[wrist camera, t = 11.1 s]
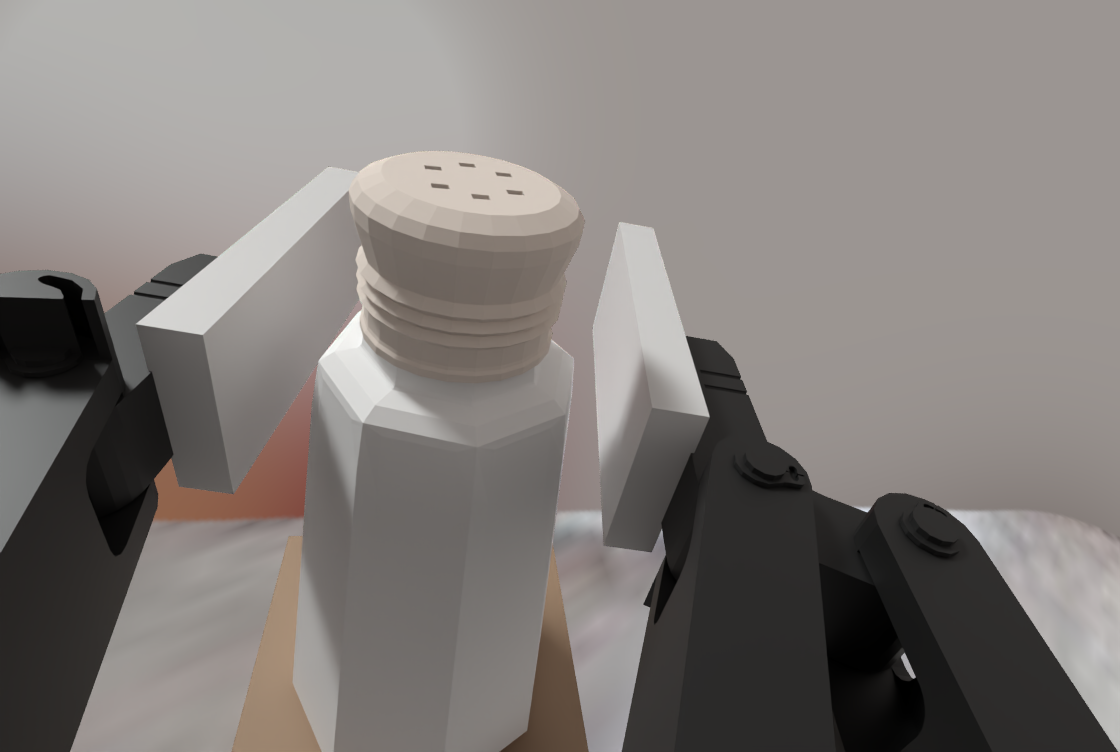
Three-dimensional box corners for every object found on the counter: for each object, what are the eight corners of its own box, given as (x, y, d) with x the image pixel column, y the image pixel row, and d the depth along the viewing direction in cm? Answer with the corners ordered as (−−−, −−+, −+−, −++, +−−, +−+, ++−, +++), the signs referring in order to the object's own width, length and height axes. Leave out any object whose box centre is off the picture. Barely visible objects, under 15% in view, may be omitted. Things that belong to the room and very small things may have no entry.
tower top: (237, 952, 13) (197, 879, 10) (301, 641, 18) (288, 536, 15) (555, 903, 14) (601, 828, 11) (525, 631, 20) (551, 535, 17)
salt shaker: (299, 576, 14) (247, 94, 8) (514, 550, 16) (606, 139, 10) (282, 841, 10) (147, 279, 4) (571, 766, 12) (790, 300, 6)
